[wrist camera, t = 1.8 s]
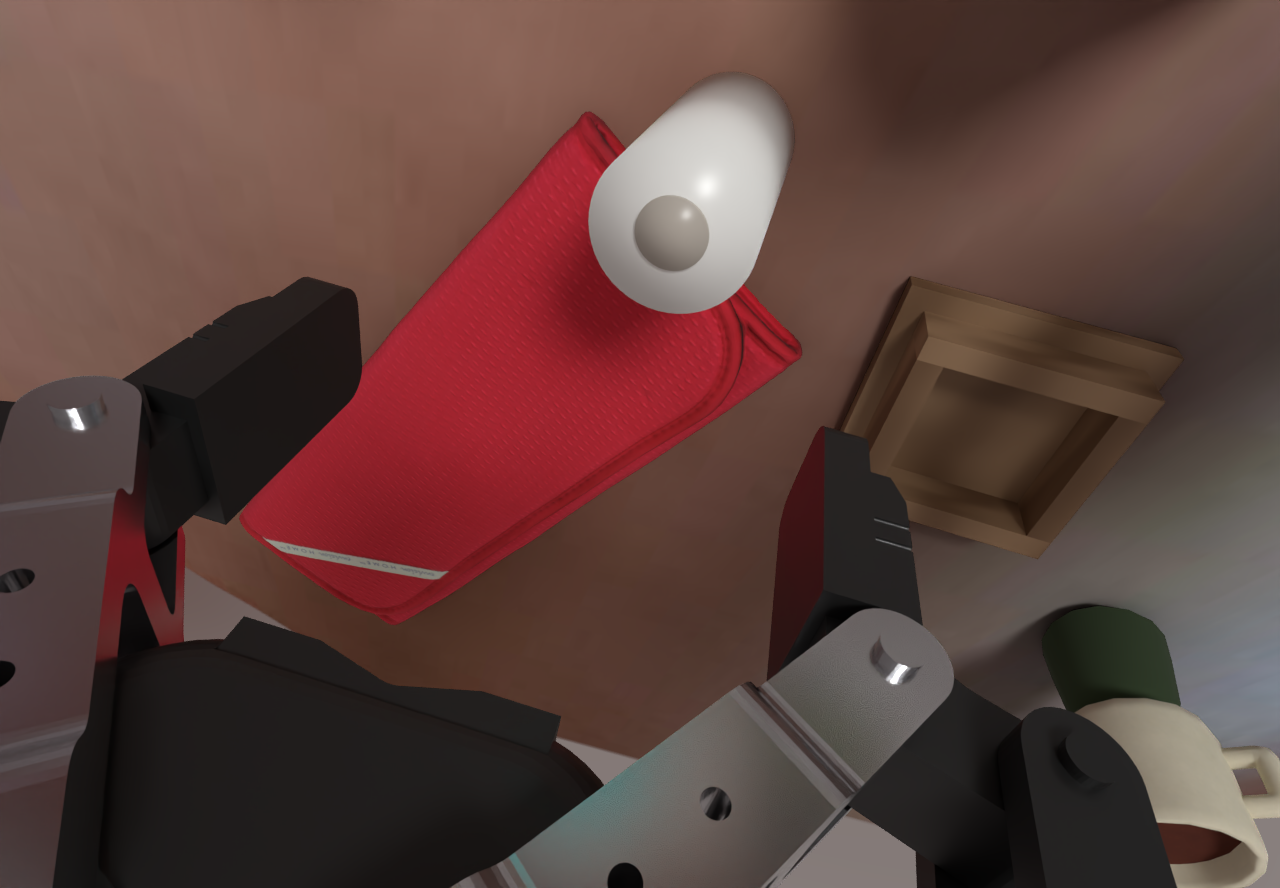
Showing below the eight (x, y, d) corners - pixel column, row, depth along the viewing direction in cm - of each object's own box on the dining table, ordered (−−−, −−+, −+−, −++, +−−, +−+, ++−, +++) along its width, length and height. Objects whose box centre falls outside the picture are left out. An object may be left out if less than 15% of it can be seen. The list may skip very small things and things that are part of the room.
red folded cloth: (810, 347, 36) (806, 384, 33) (414, 610, 59) (392, 645, 56) (593, 101, 32) (567, 120, 29) (257, 490, 55) (223, 522, 52)
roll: (812, 89, 29) (783, 167, 20) (773, 220, 32) (734, 334, 24) (680, 57, 29) (597, 120, 21) (657, 190, 33) (578, 290, 24)
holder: (1176, 348, 31) (1206, 389, 28) (1033, 531, 39) (1047, 577, 36) (910, 276, 32) (915, 309, 29) (822, 468, 40) (819, 509, 37)
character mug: (1019, 683, 46) (1063, 898, 36) (981, 613, 43) (1018, 825, 33) (1221, 655, 41) (1340, 898, 31) (1193, 572, 38) (1313, 811, 28)
